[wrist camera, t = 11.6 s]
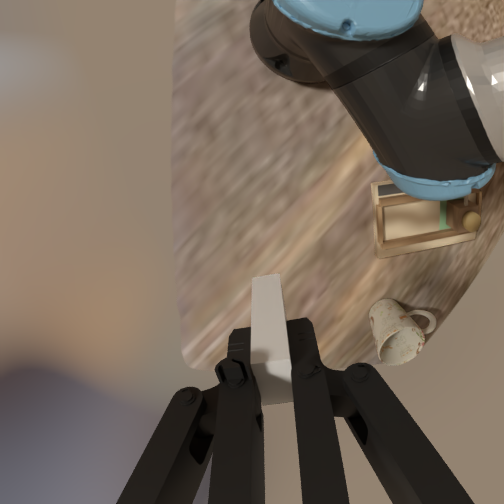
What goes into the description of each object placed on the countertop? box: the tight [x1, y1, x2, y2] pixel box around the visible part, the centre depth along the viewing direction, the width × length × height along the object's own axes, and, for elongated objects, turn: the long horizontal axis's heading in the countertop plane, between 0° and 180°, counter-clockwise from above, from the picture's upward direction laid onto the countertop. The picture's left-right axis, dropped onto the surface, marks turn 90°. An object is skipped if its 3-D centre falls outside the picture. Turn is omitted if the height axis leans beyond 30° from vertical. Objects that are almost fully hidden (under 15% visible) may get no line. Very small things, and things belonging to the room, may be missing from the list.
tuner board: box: [371, 180, 482, 259], centre depth 45 cm, size 12×20×2 cm, turn 101°
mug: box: [369, 299, 436, 366], centre depth 49 cm, size 8×13×10 cm, turn 106°
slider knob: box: [446, 195, 481, 233], centre depth 41 cm, size 7×4×6 cm, turn 11°
